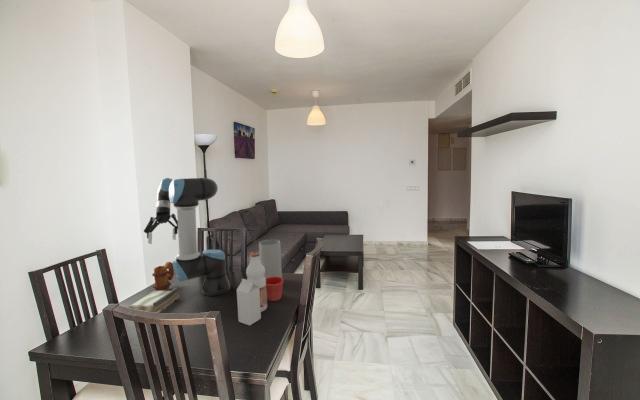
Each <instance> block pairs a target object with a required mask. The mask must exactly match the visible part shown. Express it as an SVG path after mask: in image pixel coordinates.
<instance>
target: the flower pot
mask: <svg viewBox="0 0 640 400" xmlns="http://www.w3.org/2000/svg"><path fill="white" fill-rule="evenodd" d="M283 286H284V278H283V277H282V278H281V277H269V278H266V291H267V301H269V302H277V301H280V299H282V294H283Z"/></svg>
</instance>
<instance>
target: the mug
mask: <svg viewBox="0 0 640 400" xmlns="http://www.w3.org/2000/svg"><path fill="white" fill-rule="evenodd" d="M153 271H154V272H153V273H152V277H154V285H153V286H152V288H153V289H154V291H170V286H171V285H172V283H171V281H172V280H173V278H174V275H175V272H174V269H173V261H172V262H171V261H167V262H165V264H164V265H159V266H157V267H156V266H155V268H154V269H153Z"/></svg>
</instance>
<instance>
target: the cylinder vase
mask: <svg viewBox="0 0 640 400" xmlns="http://www.w3.org/2000/svg"><path fill="white" fill-rule="evenodd" d="M281 246H282V245H281V240H279V239H264V240H261V241H259V242H258V249H259V250H258V252H259V253H260V257H259V258H260V262H261V264H262V265H263V266H264V268H265V275H264V276H265V279H266V278H269V277H281V278H283V272H282V271H283V270H282V251H281V250H282V249H281Z"/></svg>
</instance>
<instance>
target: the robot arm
mask: <svg viewBox="0 0 640 400" xmlns="http://www.w3.org/2000/svg"><path fill="white" fill-rule="evenodd" d="M156 191H157V192H156V193H157V194H156V215H155V217H153V216H150V219H149V221H148V223H147V224H146V226H145V228H144V230H143V232H144V233H145V234H146V238H147V239H148V240H147V243H148V244H149V245H152V242H153V232H154V230H156V228H157V227H158V226H160V224H161V225H162V224H167V223H169V224H170V225H171V226H172V227H173V228H172V240H174V241H176V240H177V237H178V253H177V254H176V256H175V259H174V260H172V264H173V269H174V275H175V277H176V278H177V280H178V282H185V281H191V280H194V279H197V278H201V277H204V281H203V284H202V286H201V287H202V288H201V293H202V294H203V295H205V296H209V297H211V296H213V297H214V296H219V295H224V294H226V293H228V292H229V291H230V290H231V284H230V281H229V279H228V276H227V269H226V255H225V252H224V251H223V250H221V249H205V250H203V251H202V253H201V252H199V251H198V243H197V241H198V240H197V218H196V216H197V215H196V214H197V213H196V208H197V207H198V206H199V202H200V201H205V200H209V199H211V198H213V197H215V195H216V194H217V192H218V184H217V183H216V181H215V180H213V179H211V178H208V177H196V178H193V177H192V178H190V177H189V178H177V179H173V178H169V177H166V178H163V179H162V180H161V182H160V184H159V186H158V187H157V190H156ZM171 204H173V207H174V208H175V209H176V212H177V213H176V214H177V217H176V214H174V213H171ZM171 219H173V221H174V223H173V222H172V221H171ZM177 235H178V236H177Z"/></svg>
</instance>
